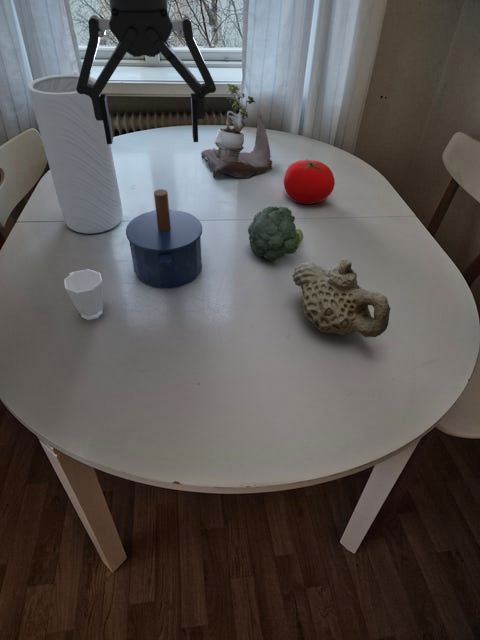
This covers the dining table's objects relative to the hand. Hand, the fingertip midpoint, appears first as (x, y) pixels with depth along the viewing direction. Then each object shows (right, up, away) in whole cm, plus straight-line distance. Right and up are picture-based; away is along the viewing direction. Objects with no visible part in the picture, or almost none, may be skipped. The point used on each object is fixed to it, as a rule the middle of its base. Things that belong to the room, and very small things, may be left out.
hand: (153, 140), depth 69 cm
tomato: (+33, +5, +52) cm, 61 cm away
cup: (-16, -27, +16) cm, 35 cm away
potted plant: (+13, +20, +67) cm, 71 cm away
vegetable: (+22, -13, +32) cm, 41 cm away
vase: (-23, -4, +40) cm, 46 cm away
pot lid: (-2, -11, +20) cm, 22 cm away
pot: (-2, -18, +26) cm, 31 cm away
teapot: (+32, -30, +14) cm, 46 cm away
